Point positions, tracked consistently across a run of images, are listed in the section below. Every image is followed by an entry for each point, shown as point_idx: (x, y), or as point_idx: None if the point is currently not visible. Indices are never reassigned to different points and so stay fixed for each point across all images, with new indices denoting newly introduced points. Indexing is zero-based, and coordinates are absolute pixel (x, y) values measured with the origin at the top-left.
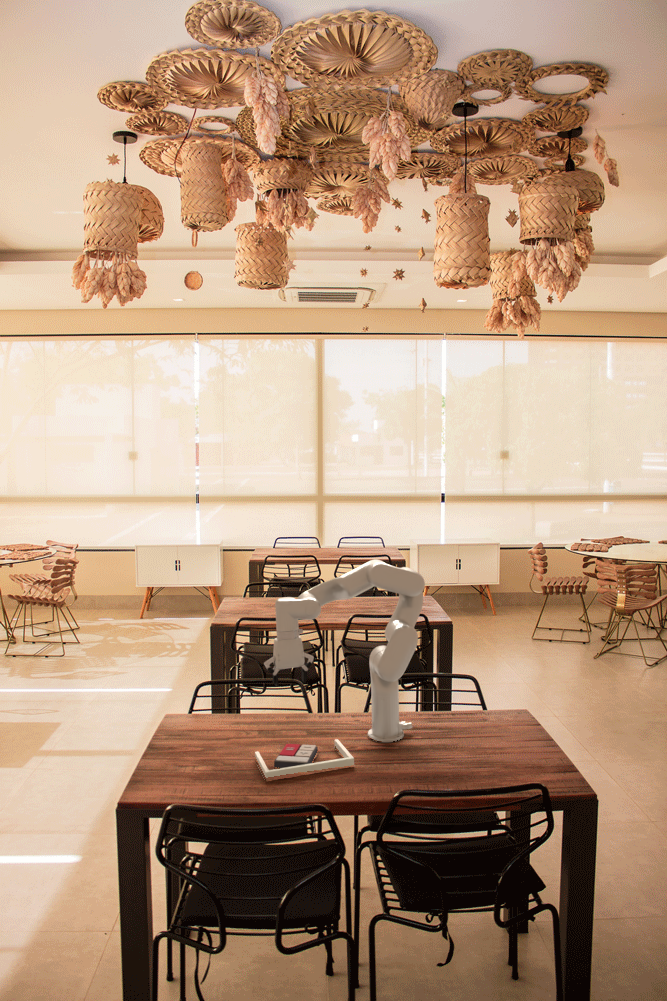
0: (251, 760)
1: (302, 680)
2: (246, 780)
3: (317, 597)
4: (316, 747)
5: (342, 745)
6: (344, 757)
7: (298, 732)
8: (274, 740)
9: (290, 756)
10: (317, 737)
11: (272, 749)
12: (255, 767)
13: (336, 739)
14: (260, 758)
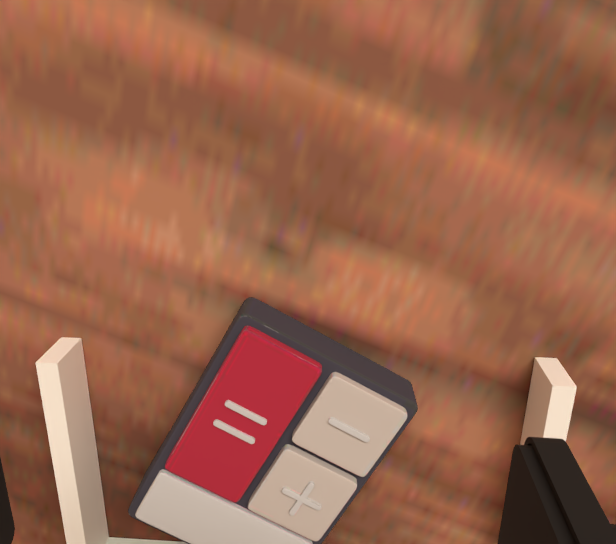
0: (42, 323)
1: (510, 497)
2: None
3: None
4: (406, 419)
5: None
6: None
7: (422, 4)
8: (216, 88)
9: (219, 504)
10: (513, 156)
11: (178, 228)
12: None
13: (566, 388)
14: (61, 451)
